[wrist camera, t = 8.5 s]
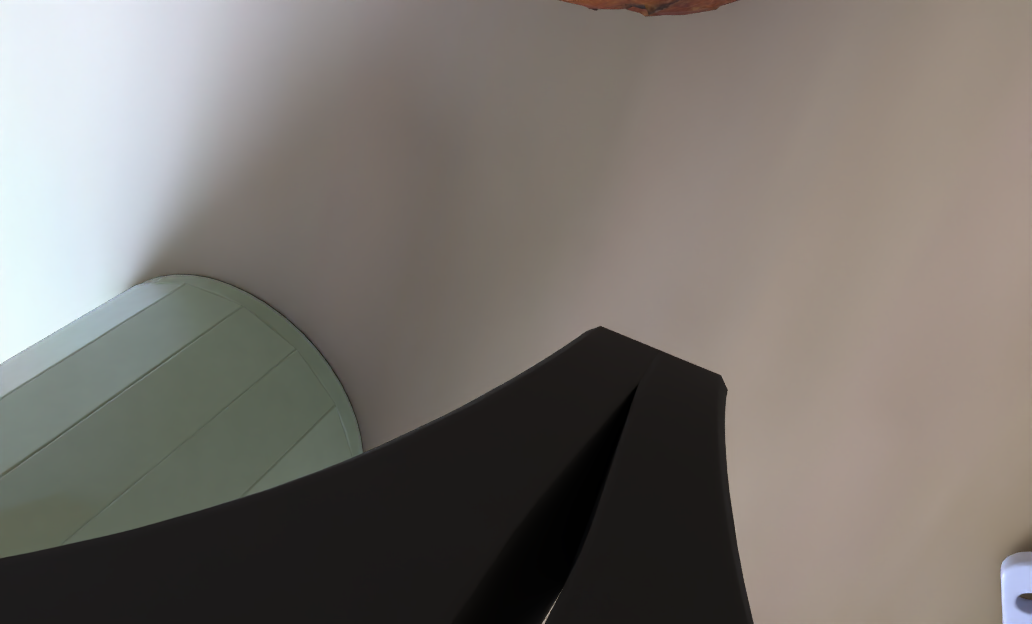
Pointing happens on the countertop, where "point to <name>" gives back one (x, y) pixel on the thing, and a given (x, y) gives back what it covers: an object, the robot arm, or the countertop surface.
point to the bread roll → (654, 5)
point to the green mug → (161, 413)
